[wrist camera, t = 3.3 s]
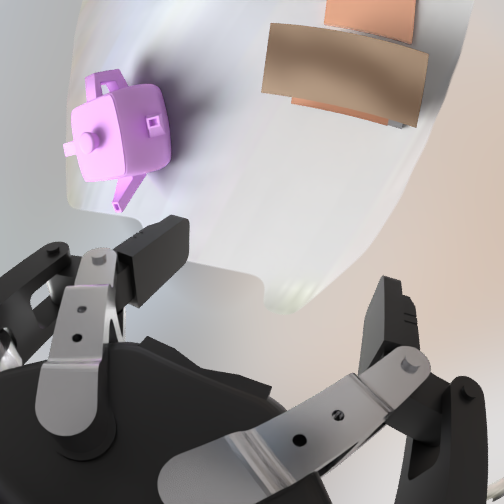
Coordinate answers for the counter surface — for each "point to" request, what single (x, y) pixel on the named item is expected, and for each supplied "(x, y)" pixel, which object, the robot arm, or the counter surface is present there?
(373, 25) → the terracotta pad
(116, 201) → the teakettle
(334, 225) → the counter surface
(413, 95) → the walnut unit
